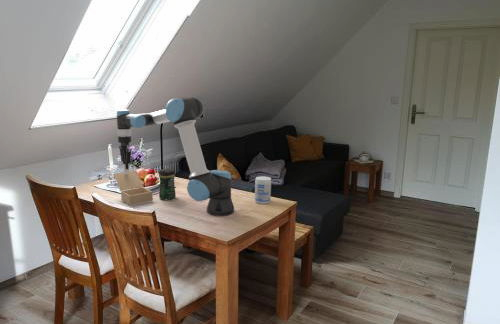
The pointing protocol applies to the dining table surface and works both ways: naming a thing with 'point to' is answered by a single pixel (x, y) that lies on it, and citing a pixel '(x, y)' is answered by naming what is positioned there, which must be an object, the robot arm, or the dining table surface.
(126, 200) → the mailer box
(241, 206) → the dining table surface
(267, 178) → the supplement tub
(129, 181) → the lid
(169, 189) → the coffee jar
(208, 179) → the robot arm
